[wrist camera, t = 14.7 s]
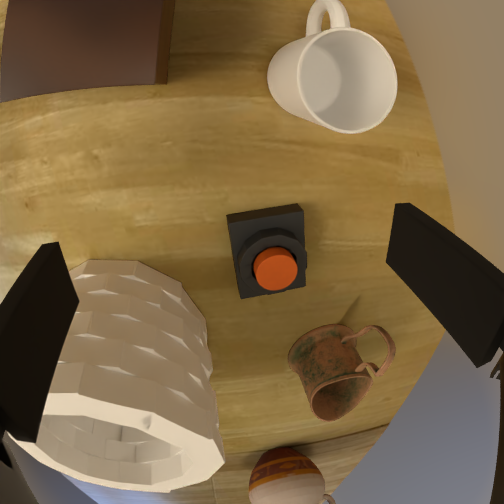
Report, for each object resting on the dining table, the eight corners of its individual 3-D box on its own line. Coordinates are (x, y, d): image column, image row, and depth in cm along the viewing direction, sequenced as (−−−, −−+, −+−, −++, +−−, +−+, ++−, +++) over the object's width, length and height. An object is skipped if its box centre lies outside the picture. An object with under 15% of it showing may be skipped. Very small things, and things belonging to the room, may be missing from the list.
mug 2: (386, 297, 46) (426, 352, 35) (334, 374, 53) (358, 428, 43) (325, 286, 42) (362, 350, 32) (276, 372, 50) (295, 434, 39)
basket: (26, 255, 32) (-43, 370, 16) (213, 259, 37) (234, 397, 21) (70, 383, 44) (52, 481, 28) (207, 389, 49) (221, 493, 33)
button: (250, 250, 33) (254, 259, 32) (292, 243, 34) (297, 251, 32) (255, 284, 36) (258, 294, 34) (293, 277, 36) (298, 286, 34)
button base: (226, 215, 35) (230, 231, 31) (297, 203, 35) (309, 217, 32) (238, 288, 40) (243, 309, 36) (300, 276, 41) (310, 295, 37)
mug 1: (264, 4, 24) (296, -26, 15) (343, 14, 25) (398, -3, 16) (264, 116, 30) (295, 132, 21) (340, 118, 31) (394, 137, 22)
